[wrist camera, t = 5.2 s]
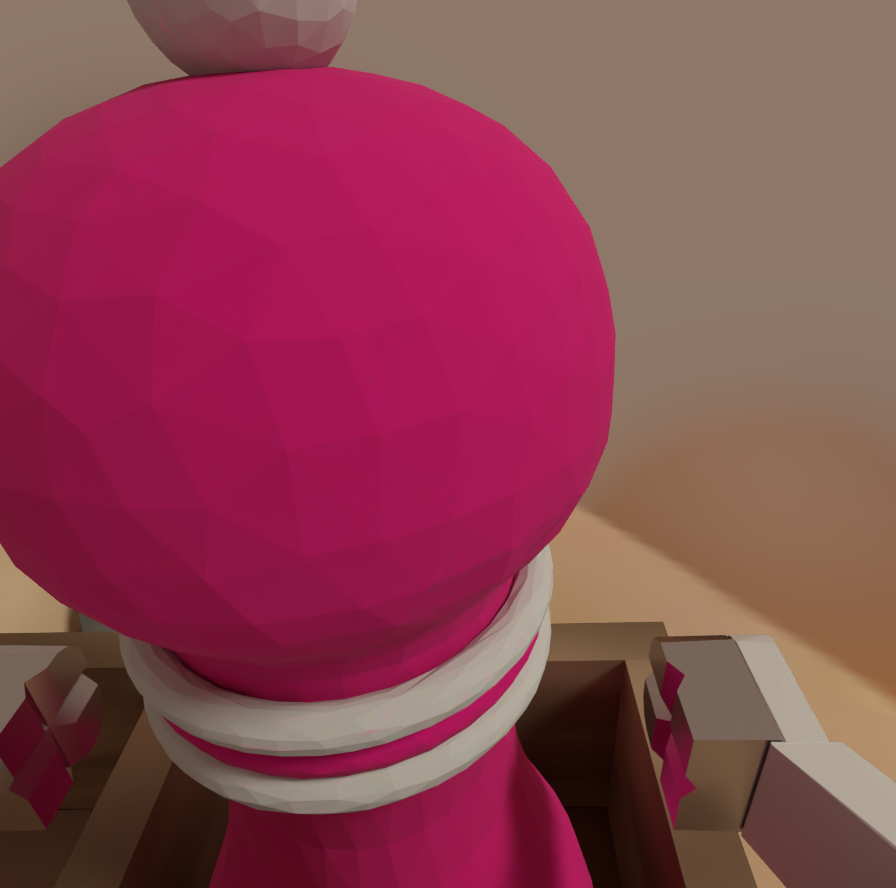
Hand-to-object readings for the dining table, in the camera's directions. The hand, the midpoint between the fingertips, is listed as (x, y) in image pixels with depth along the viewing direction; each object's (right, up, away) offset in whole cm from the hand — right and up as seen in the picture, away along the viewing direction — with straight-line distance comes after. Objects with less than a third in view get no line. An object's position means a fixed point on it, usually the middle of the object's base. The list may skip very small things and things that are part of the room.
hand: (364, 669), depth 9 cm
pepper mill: (+1, -10, +5) cm, 11 cm away
